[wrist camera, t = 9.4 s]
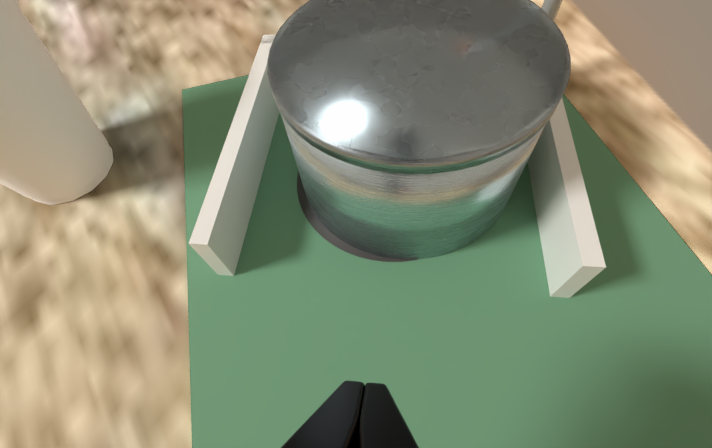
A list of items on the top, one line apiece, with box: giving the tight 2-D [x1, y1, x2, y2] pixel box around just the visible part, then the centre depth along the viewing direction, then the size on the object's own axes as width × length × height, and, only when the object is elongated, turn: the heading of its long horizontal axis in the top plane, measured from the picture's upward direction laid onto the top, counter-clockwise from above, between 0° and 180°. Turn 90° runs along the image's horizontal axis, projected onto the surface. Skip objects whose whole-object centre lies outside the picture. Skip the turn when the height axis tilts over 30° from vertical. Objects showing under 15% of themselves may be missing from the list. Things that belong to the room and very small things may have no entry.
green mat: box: [182, 75, 712, 448], centre depth 24 cm, size 35×28×1 cm
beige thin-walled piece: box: [189, 0, 606, 298], centre depth 21 cm, size 22×20×16 cm
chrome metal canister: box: [267, 0, 571, 260], centre depth 22 cm, size 14×14×9 cm
